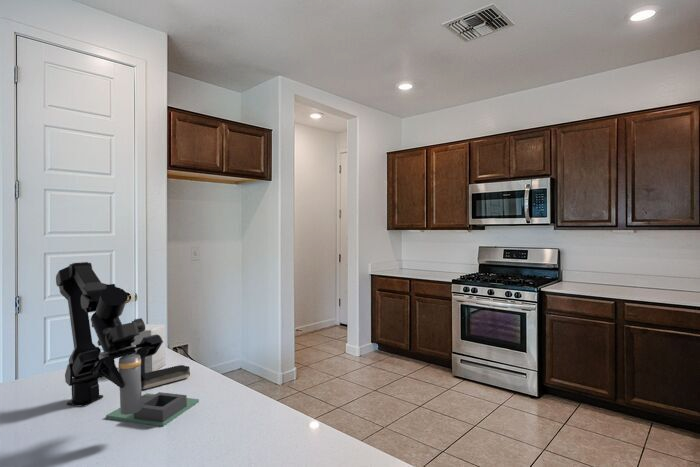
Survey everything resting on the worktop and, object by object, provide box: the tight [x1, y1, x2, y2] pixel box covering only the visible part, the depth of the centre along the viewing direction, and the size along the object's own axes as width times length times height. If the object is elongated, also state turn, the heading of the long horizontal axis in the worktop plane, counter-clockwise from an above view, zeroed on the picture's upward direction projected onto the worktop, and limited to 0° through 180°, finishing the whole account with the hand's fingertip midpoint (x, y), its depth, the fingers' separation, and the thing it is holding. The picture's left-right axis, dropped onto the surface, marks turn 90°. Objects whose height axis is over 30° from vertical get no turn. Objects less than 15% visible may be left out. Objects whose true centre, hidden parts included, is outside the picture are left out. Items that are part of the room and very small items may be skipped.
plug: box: [118, 354, 142, 415], centre depth 93 cm, size 5×5×12 cm
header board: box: [105, 391, 200, 427], centre depth 108 cm, size 18×14×4 cm
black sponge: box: [141, 364, 191, 390], centre depth 128 cm, size 16×8×4 cm, turn 131°
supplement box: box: [130, 323, 167, 373], centre depth 140 cm, size 9×9×15 cm
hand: (133, 383), depth 92 cm, fingers closed on plug, 4 cm apart
